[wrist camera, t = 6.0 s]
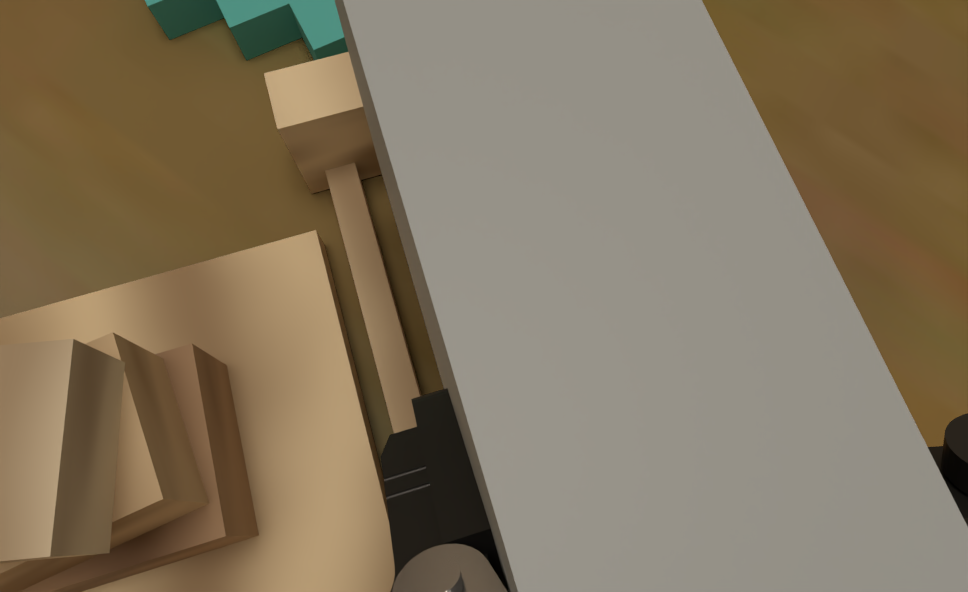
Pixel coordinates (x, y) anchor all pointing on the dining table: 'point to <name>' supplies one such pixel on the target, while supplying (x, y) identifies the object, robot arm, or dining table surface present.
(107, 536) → the offcut
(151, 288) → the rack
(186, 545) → the offcut
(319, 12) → the alien figure
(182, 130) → the dining table surface
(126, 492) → the offcut
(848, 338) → the gray eraser-like brick
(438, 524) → the robot arm
